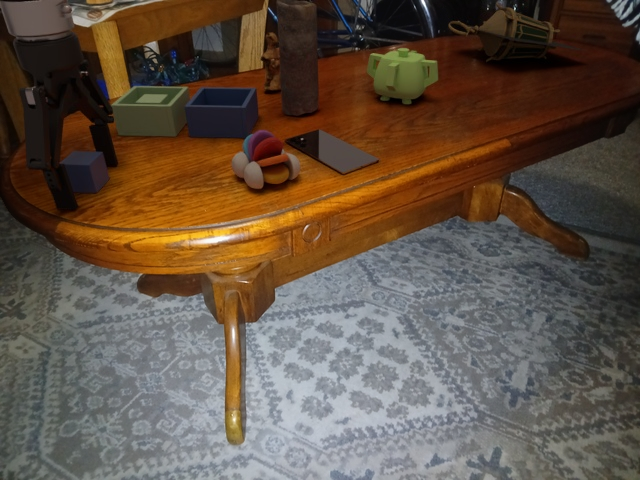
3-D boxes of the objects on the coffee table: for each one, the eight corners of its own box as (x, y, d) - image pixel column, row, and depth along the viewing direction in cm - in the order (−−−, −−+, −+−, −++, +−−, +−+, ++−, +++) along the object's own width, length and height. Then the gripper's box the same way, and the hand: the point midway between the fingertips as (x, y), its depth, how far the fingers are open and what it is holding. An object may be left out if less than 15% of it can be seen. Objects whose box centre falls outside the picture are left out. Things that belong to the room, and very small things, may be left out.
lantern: (576, 82, 127) (483, 61, 114) (512, 67, 146) (426, 48, 133) (599, 24, 121) (504, -5, 109) (529, 16, 140) (442, -9, 127)
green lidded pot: (437, 103, 104) (444, 53, 99) (386, 109, 101) (389, 58, 96) (411, 86, 113) (415, 39, 108) (363, 91, 110) (365, 44, 105)
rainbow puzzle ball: (256, 198, 72) (252, 151, 68) (227, 173, 79) (221, 128, 75) (307, 182, 76) (306, 136, 72) (275, 159, 83) (272, 116, 79)
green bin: (118, 135, 92) (110, 105, 89) (140, 114, 101) (133, 85, 97) (176, 136, 91) (170, 106, 88) (192, 115, 100) (188, 86, 97)
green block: (140, 126, 94) (135, 102, 91) (149, 117, 97) (144, 94, 95) (164, 126, 93) (159, 102, 91) (172, 117, 97) (168, 94, 95)
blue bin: (189, 137, 91) (184, 106, 88) (204, 115, 100) (200, 86, 96) (248, 138, 90) (245, 107, 87) (258, 116, 99) (256, 87, 96)
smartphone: (342, 172, 78) (283, 138, 88) (342, 176, 78) (283, 141, 89) (379, 159, 82) (319, 127, 92) (379, 162, 82) (319, 130, 92)
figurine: (291, 91, 111) (288, 33, 105) (267, 95, 109) (263, 36, 102) (281, 85, 115) (278, 28, 108) (258, 89, 112) (253, 32, 106)
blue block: (67, 192, 74) (58, 164, 72) (81, 178, 78) (73, 150, 76) (97, 193, 74) (88, 165, 72) (110, 178, 78) (102, 151, 75)
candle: (283, 103, 105) (278, -4, 93) (319, 103, 104) (318, -4, 93) (280, 117, 98) (273, 4, 87) (318, 117, 98) (316, 4, 87)
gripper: (16, 61, 54) (74, 231, 65) (114, 14, 74) (144, 150, 86) (-52, 60, 54) (18, 229, 66) (64, 14, 75) (101, 149, 87)
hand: (90, 184), depth 76 cm, fingers open, 13 cm apart
